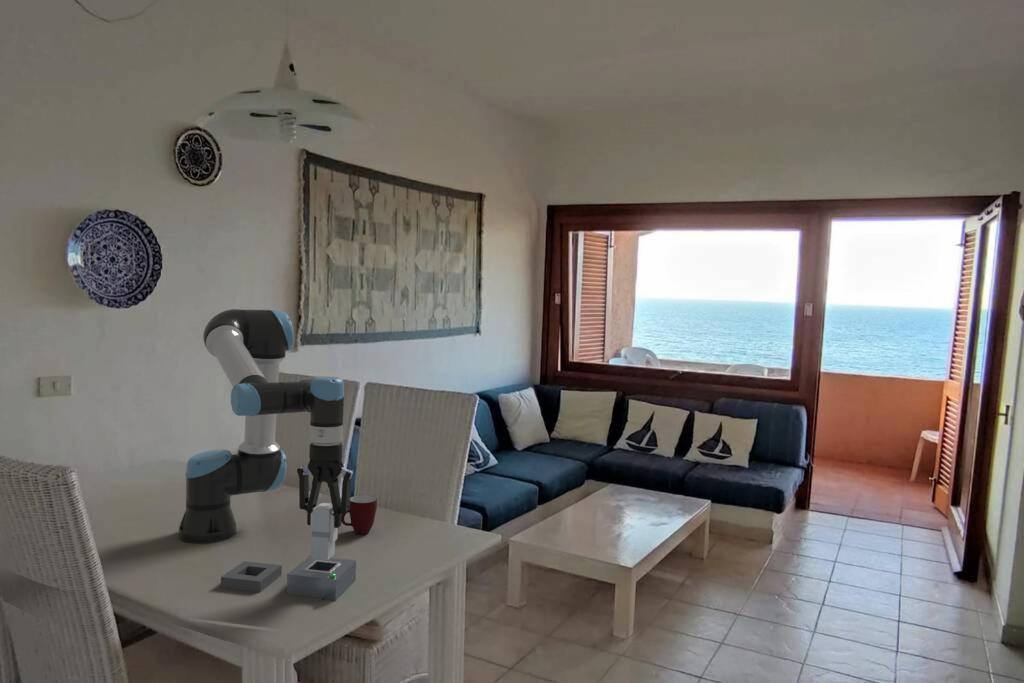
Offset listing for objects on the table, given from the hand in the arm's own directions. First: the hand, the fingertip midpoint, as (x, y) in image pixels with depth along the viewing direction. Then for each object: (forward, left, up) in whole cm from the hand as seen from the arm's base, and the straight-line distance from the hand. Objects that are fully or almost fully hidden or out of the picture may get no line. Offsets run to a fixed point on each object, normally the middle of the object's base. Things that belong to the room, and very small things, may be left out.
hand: (323, 539), depth 164 cm
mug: (-6, +38, -12) cm, 40 cm away
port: (0, 0, -12) cm, 12 cm away
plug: (0, 0, -4) cm, 4 cm away
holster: (-17, -2, -12) cm, 21 cm away
